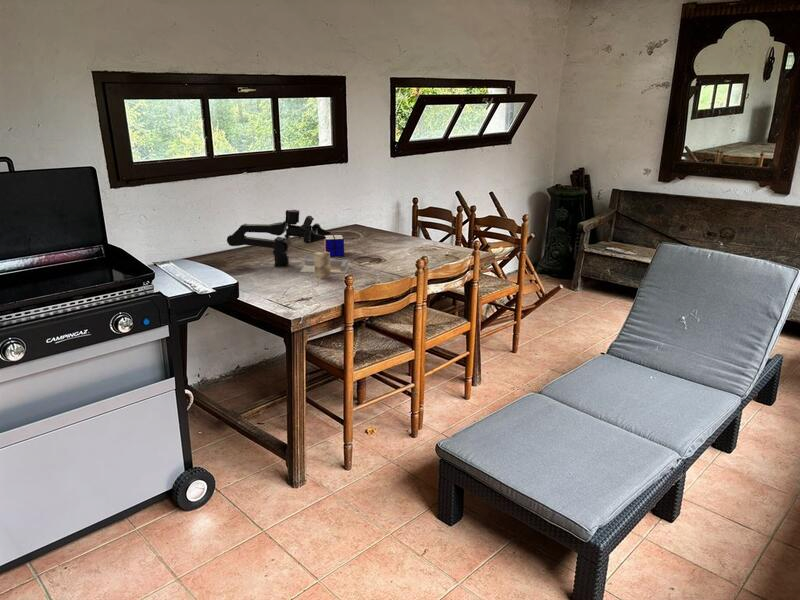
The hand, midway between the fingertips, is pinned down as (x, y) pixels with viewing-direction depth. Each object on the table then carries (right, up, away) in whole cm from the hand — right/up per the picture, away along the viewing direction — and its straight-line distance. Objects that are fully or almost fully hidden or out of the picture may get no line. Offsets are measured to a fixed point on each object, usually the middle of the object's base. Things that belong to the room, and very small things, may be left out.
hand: (328, 235), depth 304 cm
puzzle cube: (0, -8, +30) cm, 31 cm away
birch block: (-1, -21, -12) cm, 24 cm away
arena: (-1, -17, +1) cm, 17 cm away
